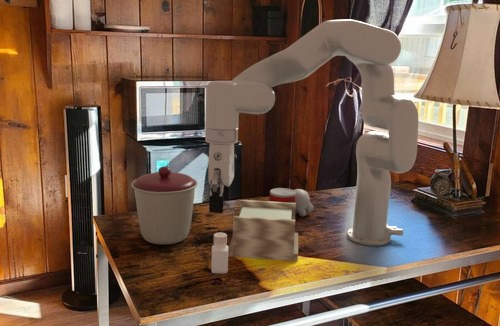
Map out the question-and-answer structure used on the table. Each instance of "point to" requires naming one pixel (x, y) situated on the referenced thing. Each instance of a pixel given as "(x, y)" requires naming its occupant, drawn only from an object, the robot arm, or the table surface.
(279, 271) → the table surface
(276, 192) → the canned food
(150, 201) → the canister
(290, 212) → the trapdoor
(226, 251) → the pepper shaker
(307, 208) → the chubby cartoon animal
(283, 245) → the stand
